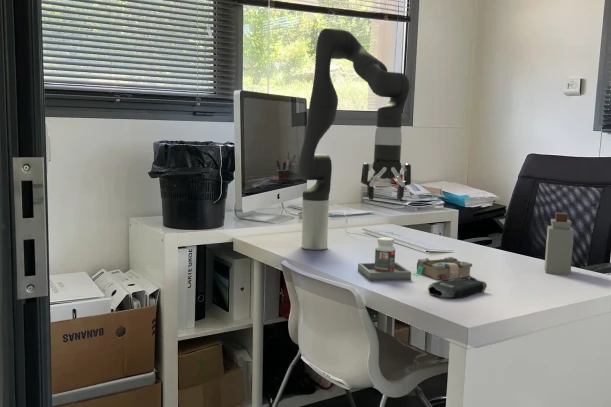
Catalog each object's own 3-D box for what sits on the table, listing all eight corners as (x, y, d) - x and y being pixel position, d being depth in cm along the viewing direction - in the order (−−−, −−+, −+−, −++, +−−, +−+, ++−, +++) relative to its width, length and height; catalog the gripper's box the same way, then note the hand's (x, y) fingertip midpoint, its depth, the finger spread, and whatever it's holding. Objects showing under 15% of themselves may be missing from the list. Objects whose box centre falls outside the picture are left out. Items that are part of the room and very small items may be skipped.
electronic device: (455, 290, 158) (419, 291, 148) (460, 271, 157) (425, 270, 148) (483, 303, 150) (448, 305, 141) (489, 283, 150) (453, 283, 140)
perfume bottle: (568, 270, 177) (572, 212, 175) (570, 275, 171) (575, 215, 169) (544, 268, 179) (548, 211, 177) (545, 273, 173) (550, 213, 171)
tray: (357, 270, 170) (358, 263, 170) (396, 269, 173) (396, 262, 172) (369, 281, 159) (370, 273, 158) (410, 280, 161) (411, 272, 161)
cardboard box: (423, 284, 158) (424, 266, 157) (400, 274, 169) (401, 257, 168) (482, 279, 165) (483, 262, 165) (456, 269, 177) (457, 253, 176)
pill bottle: (393, 275, 162) (395, 241, 161) (373, 274, 163) (375, 239, 162) (394, 270, 168) (396, 237, 167) (375, 269, 169) (376, 236, 168)
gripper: (407, 143, 169) (404, 197, 171) (360, 142, 166) (357, 197, 169) (416, 144, 162) (413, 201, 164) (367, 143, 159) (364, 201, 161)
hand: (385, 199), depth 166 cm, fingers open, 8 cm apart
